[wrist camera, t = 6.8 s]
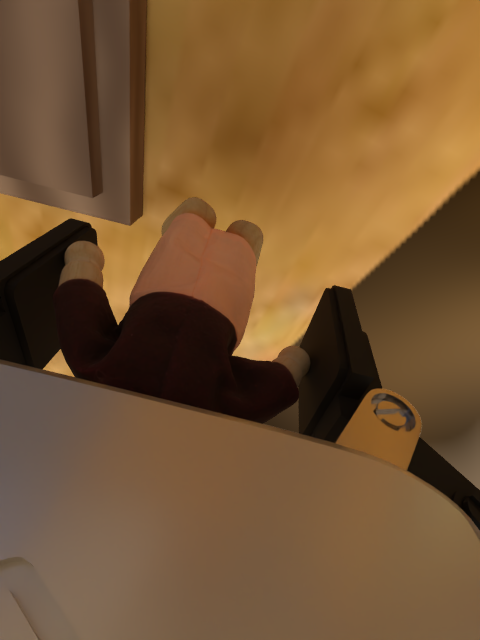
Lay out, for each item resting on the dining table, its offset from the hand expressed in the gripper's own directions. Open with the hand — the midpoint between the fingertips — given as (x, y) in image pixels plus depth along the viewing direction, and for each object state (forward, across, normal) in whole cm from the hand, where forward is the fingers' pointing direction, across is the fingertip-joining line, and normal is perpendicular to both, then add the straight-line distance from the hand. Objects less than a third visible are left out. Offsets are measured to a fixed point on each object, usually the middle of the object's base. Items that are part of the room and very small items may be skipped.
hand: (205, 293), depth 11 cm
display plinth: (+16, +15, -3) cm, 22 cm away
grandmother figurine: (+4, 0, 0) cm, 4 cm away
